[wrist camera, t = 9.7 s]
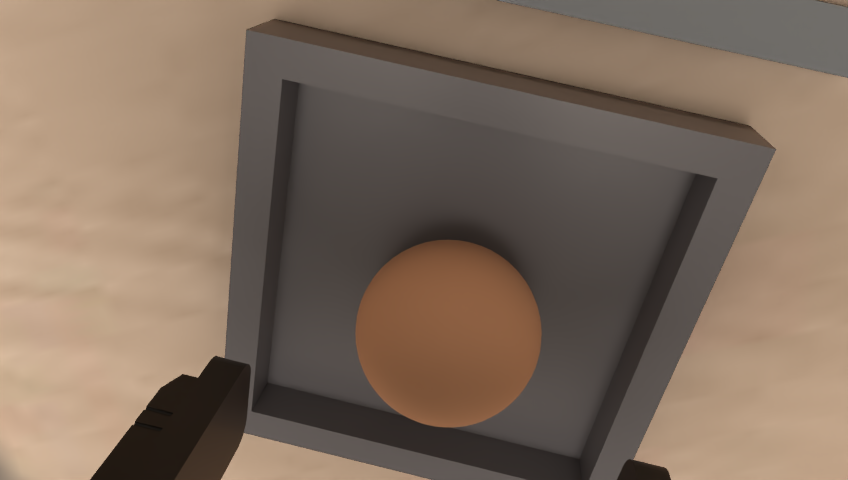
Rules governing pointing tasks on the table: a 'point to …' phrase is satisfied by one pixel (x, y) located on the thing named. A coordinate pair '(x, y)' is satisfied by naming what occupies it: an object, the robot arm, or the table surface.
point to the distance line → (729, 26)
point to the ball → (448, 333)
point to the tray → (476, 223)
